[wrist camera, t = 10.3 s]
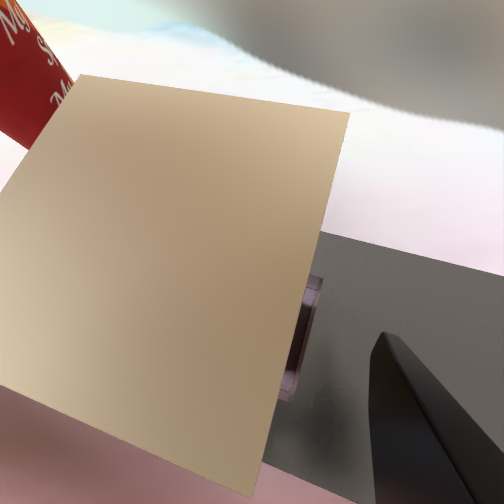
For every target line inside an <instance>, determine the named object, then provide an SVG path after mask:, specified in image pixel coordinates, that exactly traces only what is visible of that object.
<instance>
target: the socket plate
mask: <svg viewBox="0 0 504 504" xmlns="http://www.w3.org/2000/svg"><path fill="white" fill-rule="evenodd" d="M306 287H308V288H312V289H315V290H316V294H315V298H314V302H313V306H312V310H311V314H310V318H309V322H308V326H307V330H306V334H305V337H304V341H303V345H302V349H301V353H300V357H299V361H298V365H297V369H296V373H295V377H294V380H293V384H292V388H291V392H290V393H289V392H286V391H284V390H281V389H280V390H279V394H278V398H277V402H276V406H275V410H274V414H273V418H272V422H271V425H270V429H269V433H268V437H267V441H266V445H265V449H264V453H263V457H262V462H264V463H267V464H269V465H271V466H273V467H276V468H278V469H280V470H283V471H285V472H287V473H289V474H292V475H294V476H296V477H298V478H301V479H303V480H305V481H308V482H310V483H312V484H314V485H317V486H319V487H321V488H324V489H326V490H328V491H330V492H333V493H335V494H337V495H339V496H342V497H344V498H346V499H349V500H351V501H353V502H355V503H358V504H376V502H375V490H374V478H373V466H372V454H371V442H370V430H369V417H368V395H369V367H370V355H371V352H372V349H373V347H374V345H375V343H376V341H377V339H378V337H379V335H380V334H381V333H382V332H383V331H386V332H389V333H392V334H396V335H398V336H399V337H400V338H401V339H402V340H403V341H404V342H405V343H406V344H407V346H408V347H409V348H410V349H411V350H412V351H413V352H414V353H415V354H416V356H417V357H418V358H419V359H420V360H421V361H422V362H423V363H424V364H425V366H426V367H427V368H428V369H429V370H430V371H431V372H432V373H433V374H434V376H435V377H436V378H437V379H438V380H439V381H440V382H441V383H442V384H443V386H444V387H445V388H446V389H447V390H448V391H449V392H450V393H451V394H452V396H453V397H454V398H455V399H456V400H457V401H458V402H459V403H460V404H461V406H462V407H463V408H464V409H465V410H466V411H467V412H468V413H469V414H470V416H471V417H472V418H473V419H474V420H475V421H476V422H477V423H478V424H479V426H480V427H481V428H482V429H483V430H484V431H485V432H486V433H487V434H488V436H489V437H490V438H491V439H492V440H493V441H494V442H495V443H496V444H497V446H498V447H499V448H500V449H501V450H502V451H503V452H504V276H500V275H496V274H492V273H488V272H484V271H480V270H476V269H472V268H468V267H464V266H460V265H456V264H452V263H448V262H444V261H440V260H435V259H431V258H427V257H423V256H419V255H415V254H411V253H407V252H403V251H399V250H395V249H391V248H387V247H383V246H379V245H375V244H371V243H367V242H363V241H358V240H354V239H350V238H346V237H342V236H338V235H334V234H330V233H326V232H322V231H320V233H319V237H318V241H317V245H316V249H315V253H314V257H313V261H312V264H311V268H310V272H309V276H308V280H307V284H306Z"/></svg>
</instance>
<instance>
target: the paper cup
mask: <svg viewBox="0 0 504 504" xmlns="http://www.w3.org/2000/svg"><path fill="white" fill-rule="evenodd" d="M73 85H74V82H73V80H72V79H71V77H70V76H69V74H68V73H67V72H66V70H65V69H64V67H63V66H62V65H61V63H60V62H59V60H58V59H57V58H56V56H55V55H54V53H53V52H52V51H51V49H50V48H49V46H48V45H47V43H46V42H45V41H44V39H43V38H42V36H41V35H40V34H39V32H38V31H37V29H36V28H35V27H34V25H33V24H32V22H31V21H30V20H29V18H28V17H27V15H26V14H25V13H24V11H23V10H22V8H21V7H20V6H19V4H18V3H17V1H16V0H0V131H2V132H3V133H5V134H6V135H7V136H9V137H10V138H12V139H13V140H15V141H16V142H18V143H19V144H20V145H22V146H23V147H25V148H26V149H28V150H30V148H31V147H32V145H33V144H34V142H35V141H36V139H37V138H38V136H39V135H40V133H41V132H42V130H43V129H44V127H45V126H46V125H47V123H48V122H49V120H50V119H51V117H52V116H53V114H54V113H55V111H56V110H57V108H58V107H59V105H60V104H61V102H62V101H63V99H64V98H65V96H66V95H67V94H68V92H69V91H70V89H71V88H72V86H73Z"/></svg>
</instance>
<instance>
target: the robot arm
mask: <svg viewBox="0 0 504 504" xmlns="http://www.w3.org/2000/svg"><path fill="white" fill-rule="evenodd" d="M368 417H369V430H370V442H371V454H372V466H373V478H374V490H375V502H376V504H504V452H503V451H502V450H501V449H500V448H499V447H498V446H497V444H496V443H495V442H494V441H493V440H492V439H491V438H490V437H489V436H488V434H487V433H486V432H485V431H484V430H483V429H482V428H481V427H480V426H479V424H478V423H477V422H476V421H475V420H474V419H473V418H472V417H471V416H470V414H469V413H468V412H467V411H466V410H465V409H464V408H463V407H462V406H461V404H460V403H459V402H458V401H457V400H456V399H455V398H454V397H453V396H452V394H451V393H450V392H449V391H448V390H447V389H446V388H445V387H444V386H443V384H442V383H441V382H440V381H439V380H438V379H437V378H436V377H435V376H434V374H433V373H432V372H431V371H430V370H429V369H428V368H427V367H426V366H425V364H424V363H423V362H422V361H421V360H420V359H419V358H418V357H417V356H416V354H415V353H414V352H413V351H412V350H411V349H410V348H409V347H408V346H407V344H406V343H405V342H404V341H403V340H402V339H401V338H400V337H399V336H398V335H396V334H392V333H389V332H386V331H383V332H382V333H381V334H380V335H379V337H378V339H377V341H376V343H375V345H374V347H373V349H372V352H371V355H370V367H369V395H368Z"/></svg>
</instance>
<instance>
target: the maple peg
mask: <svg viewBox="0 0 504 504" xmlns="http://www.w3.org/2000/svg"><path fill="white" fill-rule="evenodd" d="M349 115H350V113H347V112H340V111H333V110H326V109H319V108H312V107H305V106H298V105H291V104H284V103H277V102H270V101H263V100H256V99H249V98H242V97H235V96H228V95H221V94H214V93H207V92H200V91H193V90H187V89H180V88H173V87H166V86H159V85H152V84H145V83H138V82H131V81H124V80H117V79H110V78H103V77H96V76H89V75H82V74H80V76H79V77H78V79H77V80H76V82H75V83H74V85H73V86H72V88H71V89H70V91H69V92H68V94H67V95H66V96H65V98H64V99H63V101H62V102H61V104H60V105H59V107H58V108H57V110H56V111H55V113H54V114H53V116H52V117H51V119H50V120H49V122H48V123H47V125H46V126H45V127H44V129H43V130H42V132H41V133H40V135H39V136H38V138H37V139H36V141H35V142H34V144H33V145H32V147H31V148H30V150H29V151H28V153H27V154H26V156H25V157H24V159H23V160H22V161H21V163H20V164H19V166H18V167H17V169H16V170H15V172H14V173H13V175H12V176H11V178H10V179H9V181H8V182H7V184H6V185H5V187H4V188H3V190H2V191H1V192H0V385H2V386H4V387H7V388H9V389H11V390H13V391H15V392H18V393H20V394H22V395H24V396H26V397H29V398H31V399H33V400H35V401H37V402H39V403H42V404H44V405H46V406H48V407H50V408H53V409H55V410H57V411H59V412H61V413H64V414H66V415H68V416H70V417H72V418H75V419H77V420H79V421H81V422H83V423H86V424H88V425H90V426H92V427H94V428H97V429H99V430H101V431H103V432H105V433H107V434H110V435H112V436H114V437H116V438H118V439H121V440H123V441H125V442H127V443H129V444H132V445H134V446H136V447H138V448H140V449H143V450H145V451H147V452H149V453H151V454H154V455H156V456H158V457H160V458H162V459H165V460H167V461H169V462H171V463H173V464H175V465H178V466H180V467H182V468H184V469H186V470H189V471H191V472H193V473H195V474H197V475H200V476H202V477H204V478H206V479H208V480H211V481H213V482H215V483H217V484H219V485H222V486H224V487H226V488H228V489H230V490H233V491H235V492H237V493H239V494H241V495H243V496H246V497H248V498H250V499H252V496H253V492H254V488H255V484H256V480H257V477H258V473H259V469H260V465H261V461H262V457H263V453H264V449H265V445H266V441H267V437H268V433H269V429H270V425H271V422H272V418H273V414H274V410H275V406H276V402H277V398H278V394H279V390H280V386H281V382H282V378H283V374H284V370H285V367H286V363H287V359H288V355H289V351H290V347H291V343H292V339H293V335H294V331H295V327H296V323H297V319H298V316H299V312H300V308H301V304H302V300H303V296H304V292H305V288H306V284H307V280H308V276H309V272H310V268H311V264H312V261H313V257H314V253H315V249H316V245H317V241H318V237H319V233H320V229H321V225H322V221H323V217H324V213H325V209H326V206H327V202H328V198H329V194H330V190H331V186H332V182H333V178H334V174H335V170H336V166H337V162H338V158H339V154H340V151H341V147H342V143H343V139H344V135H345V131H346V127H347V123H348V119H349Z"/></svg>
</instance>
